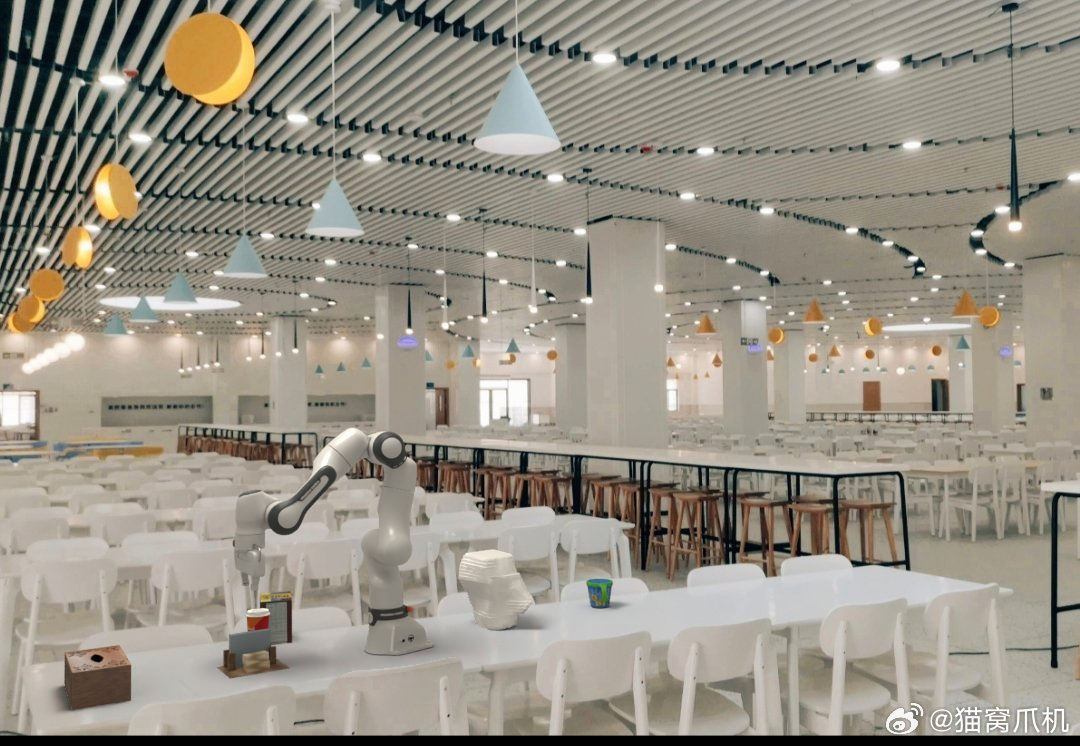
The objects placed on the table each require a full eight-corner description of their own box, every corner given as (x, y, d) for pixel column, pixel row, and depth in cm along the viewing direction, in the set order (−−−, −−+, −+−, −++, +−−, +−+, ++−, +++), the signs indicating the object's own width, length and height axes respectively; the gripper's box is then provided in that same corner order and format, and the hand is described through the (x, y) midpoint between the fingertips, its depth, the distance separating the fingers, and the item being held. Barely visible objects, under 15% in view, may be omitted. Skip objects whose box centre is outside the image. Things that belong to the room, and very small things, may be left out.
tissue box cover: (64, 687, 261) (64, 652, 261) (118, 678, 268) (119, 645, 269) (71, 711, 239) (72, 673, 239) (131, 701, 247) (131, 664, 247)
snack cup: (616, 610, 351) (615, 584, 351) (589, 611, 350) (589, 584, 350) (609, 602, 366) (609, 577, 367) (584, 603, 365) (583, 577, 366)
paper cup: (244, 652, 296) (244, 609, 297) (268, 649, 299) (268, 607, 300) (246, 658, 289) (246, 613, 289) (271, 655, 292) (271, 611, 292)
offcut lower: (266, 666, 275) (266, 658, 275) (269, 669, 272) (269, 660, 273) (243, 670, 271) (243, 662, 271) (246, 673, 269) (246, 664, 269)
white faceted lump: (504, 615, 344) (503, 548, 346) (534, 630, 320) (533, 557, 321) (452, 622, 335) (451, 552, 336) (479, 637, 311) (478, 562, 312)
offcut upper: (265, 658, 275) (264, 650, 275) (268, 660, 273) (268, 652, 273) (242, 662, 271) (242, 654, 271) (246, 664, 268) (246, 656, 268)
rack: (274, 659, 286) (274, 641, 286) (290, 670, 273) (290, 651, 274) (216, 669, 276) (216, 650, 276) (229, 681, 263) (229, 661, 264)
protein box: (290, 634, 319) (290, 590, 320) (292, 645, 304) (292, 598, 305) (259, 637, 316) (259, 593, 317) (260, 648, 301) (260, 601, 302)
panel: (268, 660, 282) (268, 628, 282) (270, 662, 280) (270, 630, 280) (229, 667, 275) (229, 634, 276) (231, 669, 273) (231, 635, 274)
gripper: (270, 545, 272) (270, 591, 272) (250, 538, 289) (250, 582, 289) (249, 547, 269) (249, 594, 268) (230, 540, 286) (230, 584, 285)
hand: (249, 588), depth 279 cm, fingers open, 8 cm apart
